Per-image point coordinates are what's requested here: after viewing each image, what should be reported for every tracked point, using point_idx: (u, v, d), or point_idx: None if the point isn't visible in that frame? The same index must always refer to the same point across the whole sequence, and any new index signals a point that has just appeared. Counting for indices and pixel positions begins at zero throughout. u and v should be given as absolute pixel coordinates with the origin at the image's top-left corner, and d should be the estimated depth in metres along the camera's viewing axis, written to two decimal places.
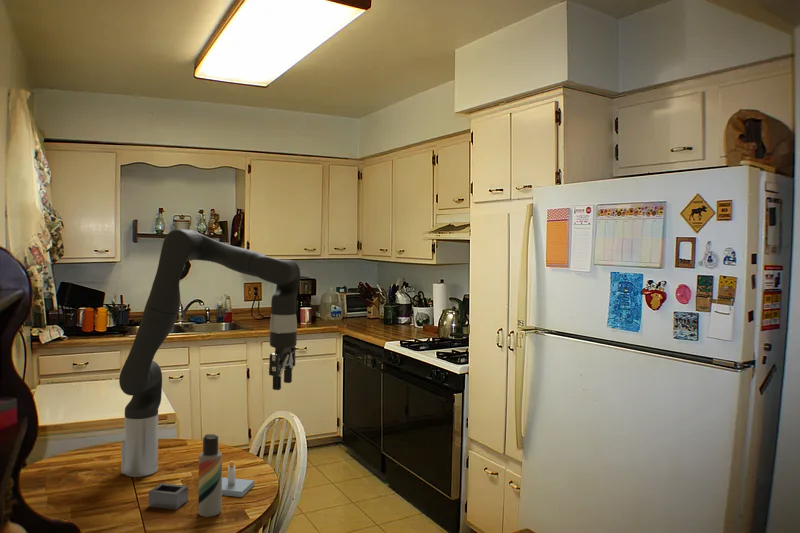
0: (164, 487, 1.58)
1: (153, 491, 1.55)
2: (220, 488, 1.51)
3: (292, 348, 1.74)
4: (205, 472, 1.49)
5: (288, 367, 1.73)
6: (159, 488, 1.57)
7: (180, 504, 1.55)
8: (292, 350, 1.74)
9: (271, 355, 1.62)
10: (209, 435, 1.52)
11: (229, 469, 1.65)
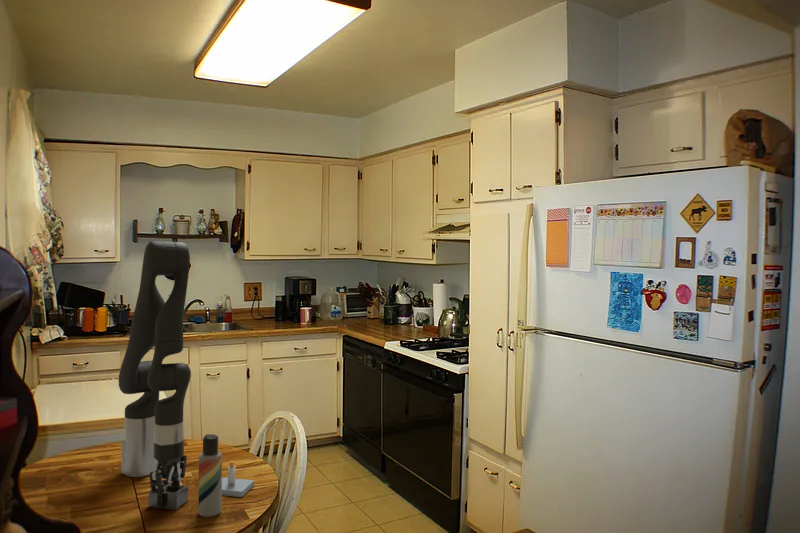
0: None
1: None
2: (220, 488, 1.51)
3: (182, 457, 1.62)
4: (205, 472, 1.49)
5: (175, 480, 1.59)
6: None
7: (180, 504, 1.55)
8: (182, 459, 1.61)
9: (151, 474, 1.50)
10: (209, 435, 1.52)
11: (229, 469, 1.65)
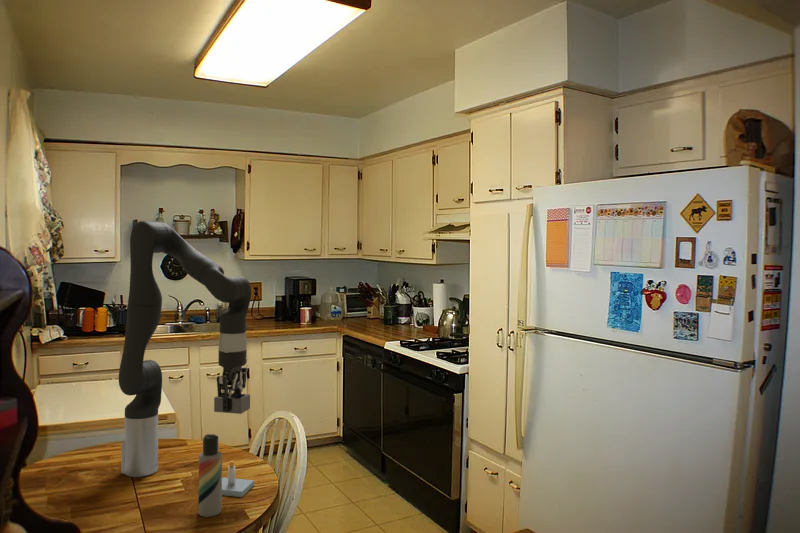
0: None
1: (218, 397, 1.63)
2: (220, 488, 1.51)
3: (243, 369, 1.70)
4: (205, 472, 1.49)
5: (237, 389, 1.68)
6: None
7: (243, 409, 1.64)
8: (243, 371, 1.70)
9: (218, 378, 1.59)
10: (209, 435, 1.52)
11: (229, 469, 1.65)
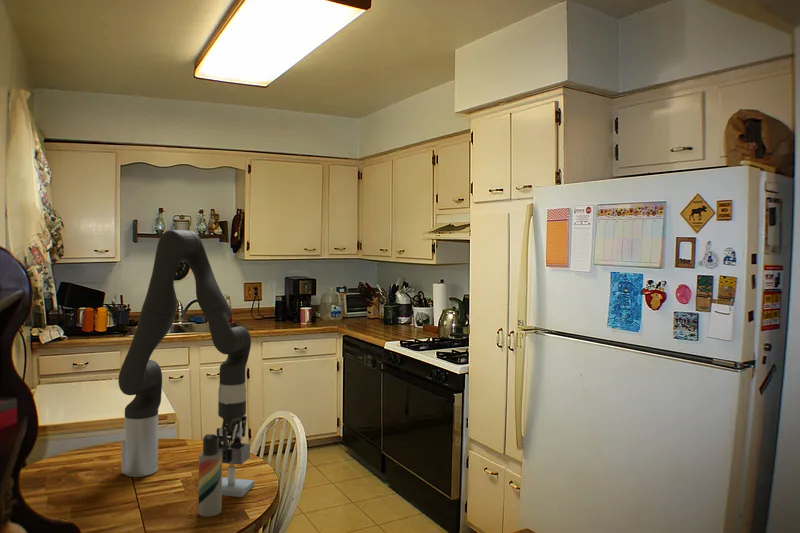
0: None
1: None
2: (220, 488, 1.51)
3: (243, 417, 1.71)
4: (205, 472, 1.49)
5: (237, 438, 1.69)
6: None
7: (243, 460, 1.64)
8: (243, 419, 1.71)
9: (218, 430, 1.59)
10: (209, 435, 1.52)
11: (229, 469, 1.65)
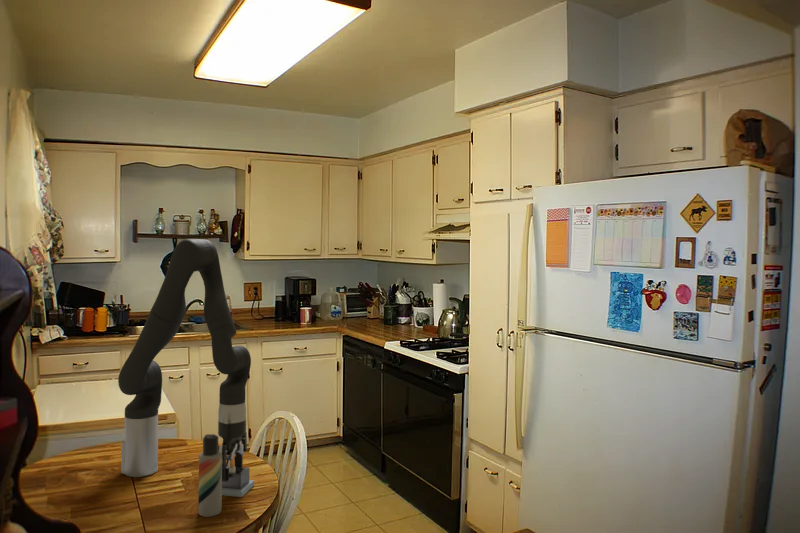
0: None
1: None
2: (220, 488, 1.51)
3: None
4: (205, 472, 1.49)
5: (239, 454, 1.70)
6: None
7: (243, 484, 1.64)
8: (243, 436, 1.71)
9: (218, 447, 1.59)
10: (209, 435, 1.52)
11: (229, 469, 1.65)
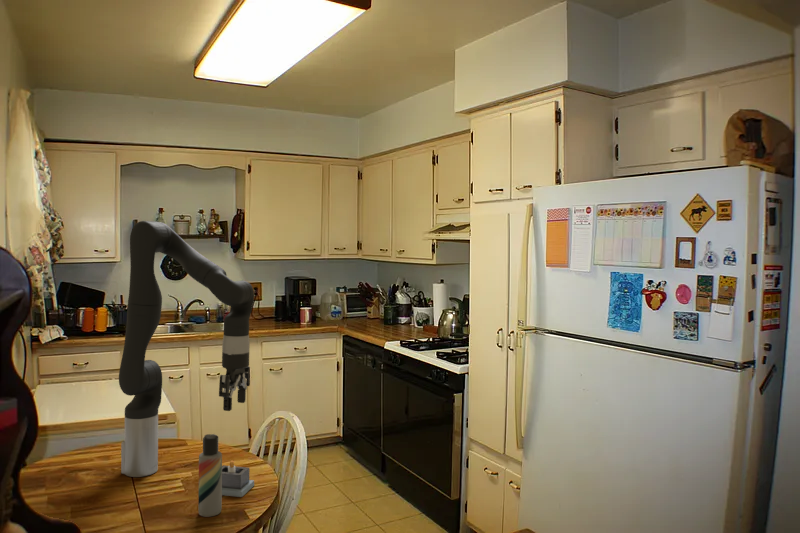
0: (227, 469, 1.68)
1: None
2: (220, 488, 1.51)
3: (246, 368, 1.75)
4: (205, 472, 1.49)
5: (242, 387, 1.74)
6: (222, 470, 1.67)
7: (243, 484, 1.64)
8: (246, 370, 1.75)
9: (221, 376, 1.63)
10: (209, 435, 1.52)
11: (229, 469, 1.65)
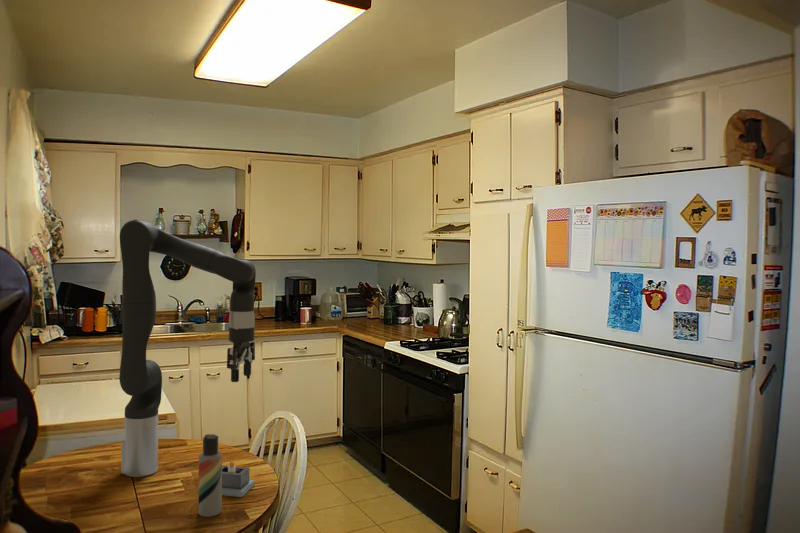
0: (227, 469, 1.68)
1: None
2: (220, 488, 1.51)
3: (251, 343, 1.85)
4: (205, 472, 1.49)
5: (247, 361, 1.84)
6: (222, 470, 1.67)
7: (243, 484, 1.64)
8: (251, 345, 1.85)
9: (229, 349, 1.73)
10: (209, 435, 1.52)
11: (229, 469, 1.65)
